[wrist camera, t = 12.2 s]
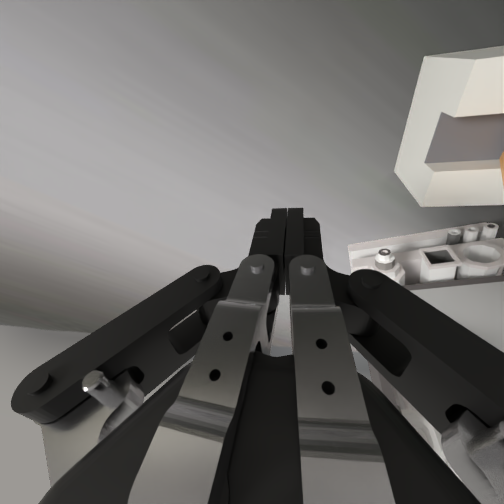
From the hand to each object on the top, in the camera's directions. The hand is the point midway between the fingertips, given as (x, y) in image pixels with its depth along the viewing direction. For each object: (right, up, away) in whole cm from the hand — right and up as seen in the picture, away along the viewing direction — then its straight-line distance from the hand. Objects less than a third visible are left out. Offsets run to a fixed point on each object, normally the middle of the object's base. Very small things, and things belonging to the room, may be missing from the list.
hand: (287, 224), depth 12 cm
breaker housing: (+19, +11, +10) cm, 24 cm away
